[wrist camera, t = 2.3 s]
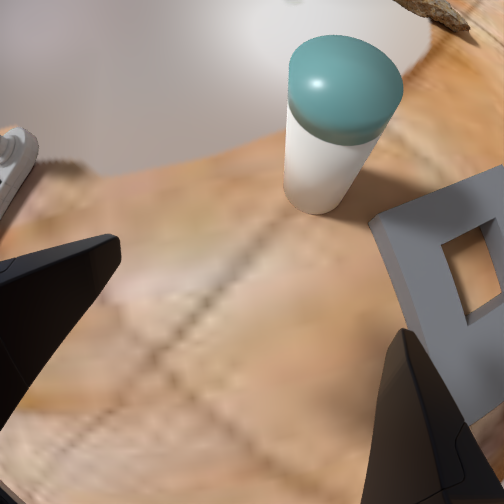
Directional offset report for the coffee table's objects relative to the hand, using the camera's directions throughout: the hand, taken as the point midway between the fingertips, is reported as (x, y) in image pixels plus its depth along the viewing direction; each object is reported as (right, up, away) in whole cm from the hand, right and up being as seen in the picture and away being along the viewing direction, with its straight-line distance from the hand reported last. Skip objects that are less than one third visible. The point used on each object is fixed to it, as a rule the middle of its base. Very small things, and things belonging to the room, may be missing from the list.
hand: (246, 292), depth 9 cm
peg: (+5, +6, +14) cm, 16 cm away
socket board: (+17, -2, +11) cm, 21 cm away
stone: (+19, +30, +17) cm, 39 cm away
